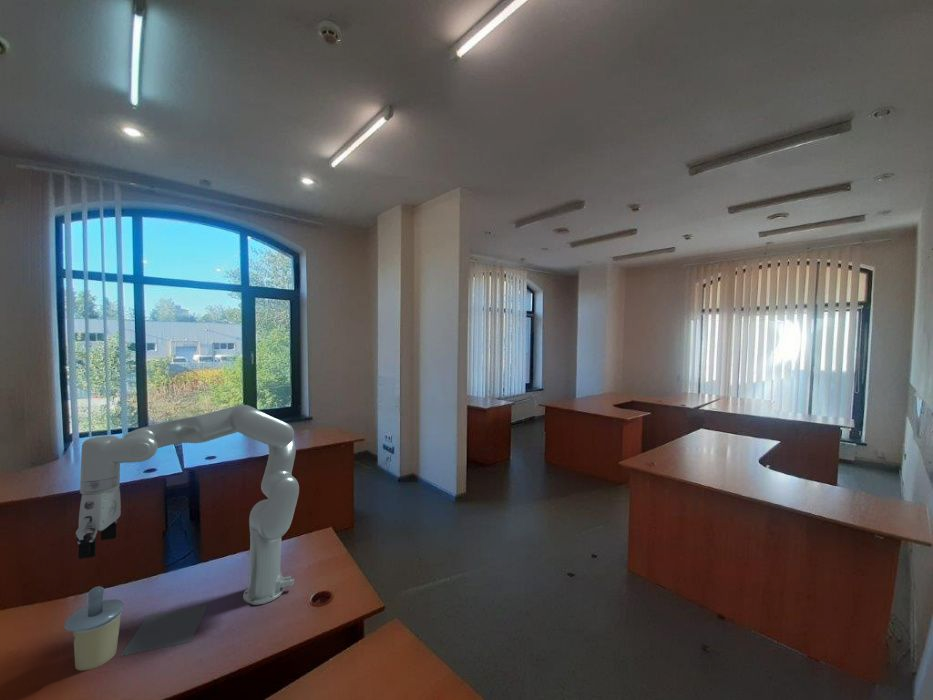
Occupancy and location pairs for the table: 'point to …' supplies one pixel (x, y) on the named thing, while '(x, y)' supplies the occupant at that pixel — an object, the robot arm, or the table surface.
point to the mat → (166, 630)
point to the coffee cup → (96, 644)
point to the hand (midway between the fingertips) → (98, 547)
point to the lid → (94, 612)
